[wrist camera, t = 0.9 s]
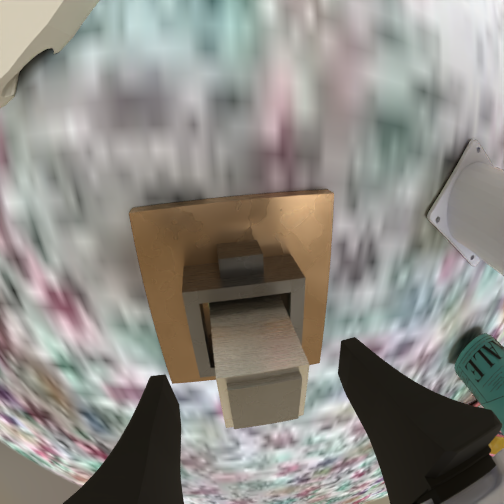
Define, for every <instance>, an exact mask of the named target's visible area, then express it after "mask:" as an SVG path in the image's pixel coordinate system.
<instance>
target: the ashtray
mask: <svg viewBox="0 0 504 504" xmlns="http://www.w3.org/2000/svg"><path fill="white" fill-rule="evenodd" d="M99 1H100V0H0V108H1V107H3V106H5V105H6V104H7V103H8V102H9V101H10V100H12V99H13V98H14V97H15V92H16V87H17V81H18V76H19V71H20V70H21V69H22V68H23V67H24V66H25V65H26V64H27V63H28V62H29V61H30V60H31V59H32V58H34V57H35V56H36V55H37V54H39V53H41V52H42V51H44V50H45V49H50V48H53V50H54V54H55V53H57V52H60V51H61V50H62V48H63V47H64V46H65V45H66V44H67V43H68V42H69V41H70V40H71V39H72V38H73V37H74V35H75V34H76V32H77V31H78V29H79V28H80V26H81V25H82V24H83V22H84V21H85V19H86V18H87V17H88V15H89V14H90V12H91V11H92V10H93V8H94V7H95V6H96V5H97V3H98V2H99ZM54 54H53V55H54ZM12 95H14V96H12Z"/></svg>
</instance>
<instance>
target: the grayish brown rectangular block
mask: <svg viewBox="0 0 504 504" xmlns="http://www.w3.org/2000/svg"><path fill="white" fill-rule="evenodd" d="M208 304H209V311H210V321H211V333H212V343H213V353H214V363H215V373H216V381H217V386H218V391H219V396H220V401H221V406H222V411H223V416H224V420H225V425H226V428H229V427H234V429H239V428H246V427H253V426H259V425H266V424H272V423H277V422H283V421H288V420H293V419H298V416H301V415H303V413H304V405H305V397H306V389H307V381H308V372H309V362H308V360H307V358H306V355H305V353H304V351H303V348H302V346H301V344H300V341H299V339H298V337H297V334H296V332H295V330H294V327H293V325H292V323H291V320H290V318H289V316H288V313H287V311H286V309H285V306H284V304H283V302H282V300H281V297H280V295H279V294H274V295H267V296H259V297H252V298H244V299H236V300H227V301H219V302H210V303H208Z"/></svg>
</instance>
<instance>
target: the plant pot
mask: <svg viewBox="0 0 504 504" xmlns="http://www.w3.org/2000/svg"><path fill="white" fill-rule="evenodd" d="M489 447H490V448H491V452H490V454H496V453H498V452H499V451H500V450H502V449H503V448H504V438H503V437H497V436H496V437H495V438H494V439H493V440H492V441H491V443H490V444H489Z"/></svg>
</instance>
